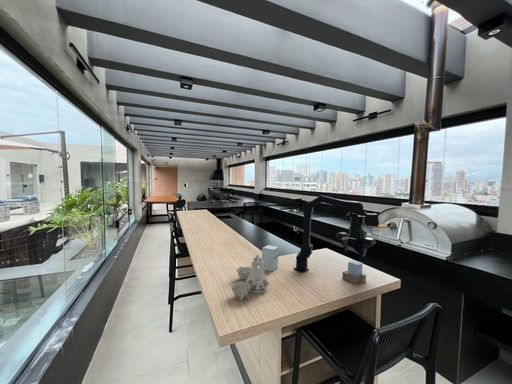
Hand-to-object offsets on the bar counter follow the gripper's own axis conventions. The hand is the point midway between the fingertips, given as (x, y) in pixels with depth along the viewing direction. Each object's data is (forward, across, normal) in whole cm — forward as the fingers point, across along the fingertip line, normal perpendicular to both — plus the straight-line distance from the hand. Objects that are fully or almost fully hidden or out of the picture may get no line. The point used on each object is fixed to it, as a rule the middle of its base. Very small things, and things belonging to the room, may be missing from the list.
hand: (354, 254), depth 115 cm
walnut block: (+13, -1, +2) cm, 14 cm away
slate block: (+9, -2, +2) cm, 10 cm away
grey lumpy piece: (+13, +22, +52) cm, 58 cm away
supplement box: (+13, +35, +29) cm, 47 cm away
